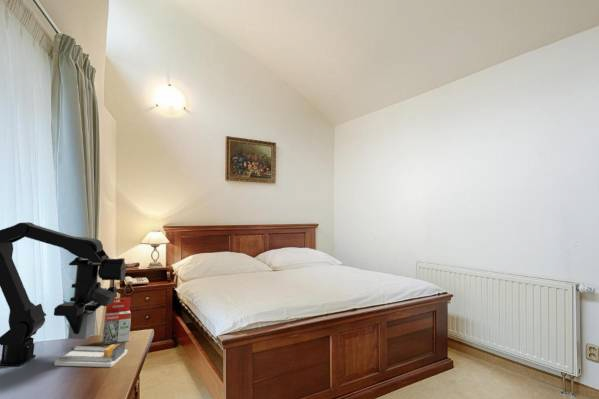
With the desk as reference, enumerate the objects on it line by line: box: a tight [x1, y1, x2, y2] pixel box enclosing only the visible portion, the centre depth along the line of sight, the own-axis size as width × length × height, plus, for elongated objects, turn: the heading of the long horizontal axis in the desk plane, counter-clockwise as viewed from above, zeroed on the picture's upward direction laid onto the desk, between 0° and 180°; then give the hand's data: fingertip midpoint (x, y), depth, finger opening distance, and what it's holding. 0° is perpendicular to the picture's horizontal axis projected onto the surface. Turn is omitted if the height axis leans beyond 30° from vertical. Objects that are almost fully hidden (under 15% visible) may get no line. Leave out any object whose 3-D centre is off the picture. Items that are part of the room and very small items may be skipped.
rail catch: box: [104, 343, 117, 357], centre depth 99 cm, size 1×4×2 cm, turn 3°
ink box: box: [102, 296, 132, 345], centre depth 113 cm, size 4×8×15 cm, turn 123°
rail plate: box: [54, 341, 128, 368], centre depth 99 cm, size 16×10×4 cm, turn 94°
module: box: [67, 310, 97, 340], centre depth 99 cm, size 5×4×7 cm
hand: (81, 331), depth 99 cm, fingers closed on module, 4 cm apart
